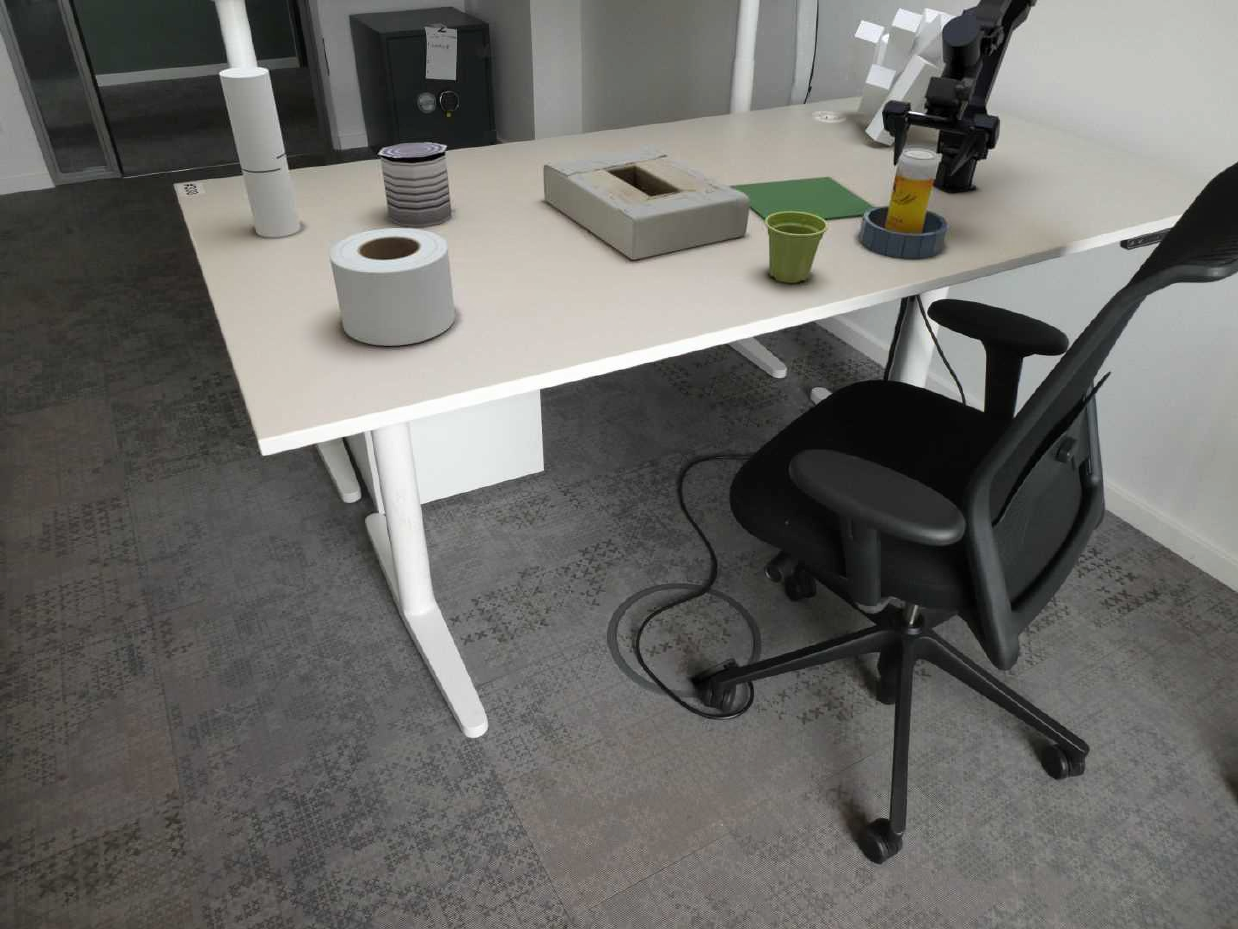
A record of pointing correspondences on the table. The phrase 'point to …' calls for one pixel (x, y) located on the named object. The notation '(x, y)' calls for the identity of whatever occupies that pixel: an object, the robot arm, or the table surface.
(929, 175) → the beer can
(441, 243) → the tape roll
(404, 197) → the can
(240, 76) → the cylindrical container
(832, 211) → the green cloth
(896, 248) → the blue round tray
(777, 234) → the plant pot
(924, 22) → the pile of blocks
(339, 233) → the table surface
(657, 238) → the box
